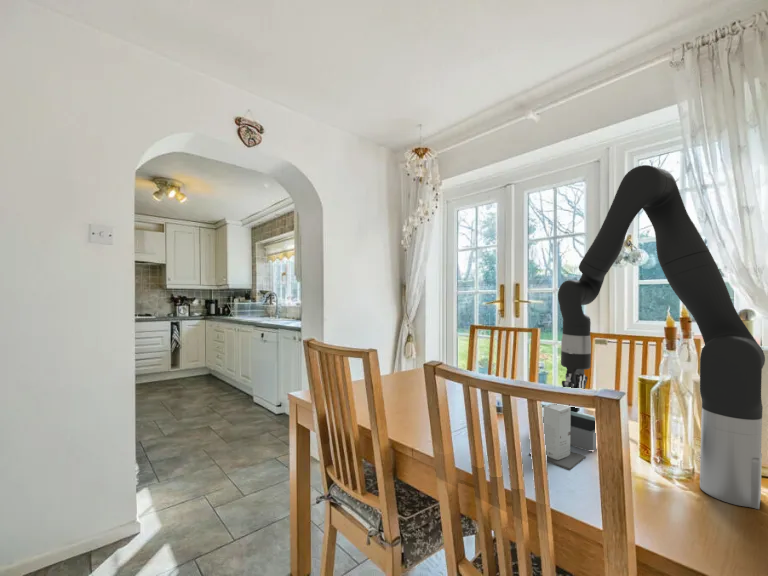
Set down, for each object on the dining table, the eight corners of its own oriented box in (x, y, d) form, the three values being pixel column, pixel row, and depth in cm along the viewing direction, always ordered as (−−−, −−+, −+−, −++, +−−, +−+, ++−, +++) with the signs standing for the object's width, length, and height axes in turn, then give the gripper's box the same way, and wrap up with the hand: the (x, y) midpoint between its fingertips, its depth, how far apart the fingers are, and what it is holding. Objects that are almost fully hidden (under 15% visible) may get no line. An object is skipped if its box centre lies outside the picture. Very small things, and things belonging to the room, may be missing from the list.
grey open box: (607, 440, 105) (608, 422, 105) (592, 452, 97) (593, 433, 97) (557, 426, 115) (557, 409, 115) (539, 435, 107) (540, 418, 107)
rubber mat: (585, 457, 93) (585, 456, 93) (569, 470, 87) (569, 468, 87) (546, 444, 101) (546, 443, 101) (528, 455, 94) (528, 453, 94)
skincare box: (558, 461, 90) (560, 411, 90) (541, 454, 94) (542, 406, 94) (571, 454, 94) (572, 406, 94) (553, 448, 97) (555, 402, 97)
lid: (608, 422, 105) (608, 419, 105) (594, 420, 97) (594, 417, 97) (557, 409, 115) (558, 407, 115) (541, 407, 107) (541, 404, 107)
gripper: (571, 346, 113) (569, 403, 113) (552, 350, 104) (551, 412, 104) (598, 350, 107) (596, 409, 107) (581, 355, 98) (579, 420, 99)
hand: (574, 411), depth 106 cm, fingers closed
